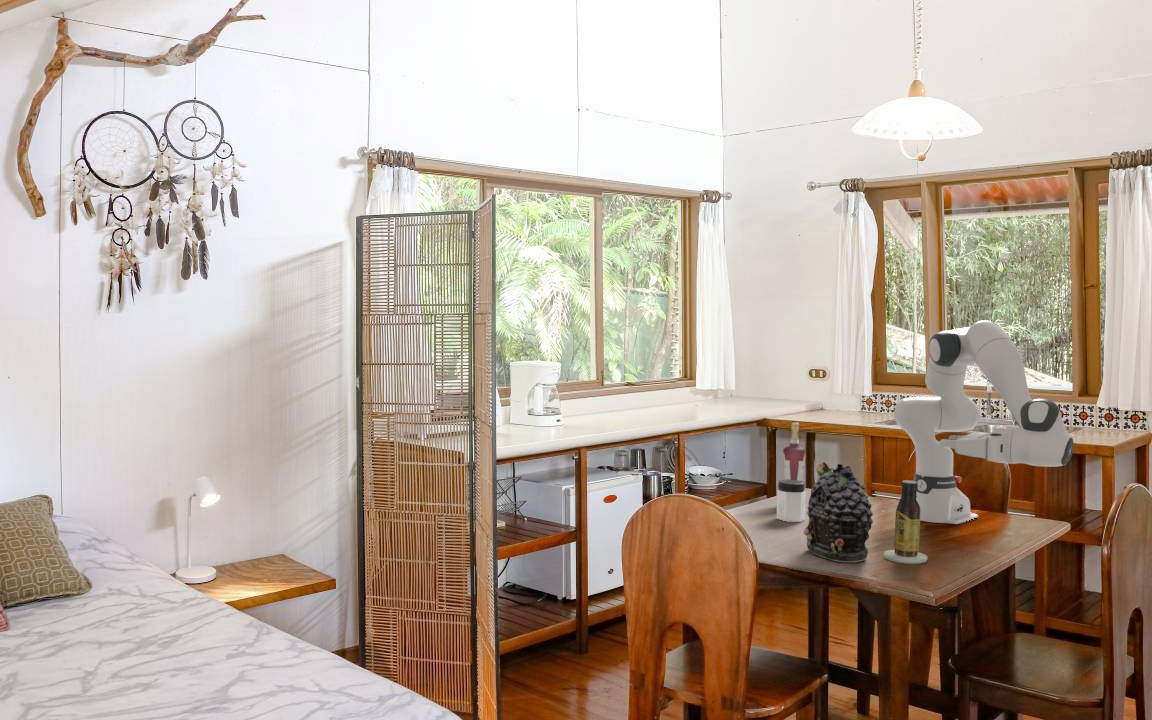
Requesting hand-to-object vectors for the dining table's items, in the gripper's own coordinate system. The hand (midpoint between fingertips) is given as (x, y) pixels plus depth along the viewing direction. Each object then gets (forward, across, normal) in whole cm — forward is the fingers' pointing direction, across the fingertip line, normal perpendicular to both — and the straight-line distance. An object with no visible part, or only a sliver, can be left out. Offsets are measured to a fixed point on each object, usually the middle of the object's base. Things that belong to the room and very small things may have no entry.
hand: (945, 440), depth 254 cm
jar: (+51, -22, +32) cm, 64 cm away
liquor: (+58, -43, +32) cm, 79 cm away
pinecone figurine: (+24, +13, +32) cm, 42 cm away
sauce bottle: (+8, +4, +31) cm, 32 cm away
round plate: (+8, +5, +32) cm, 33 cm away
